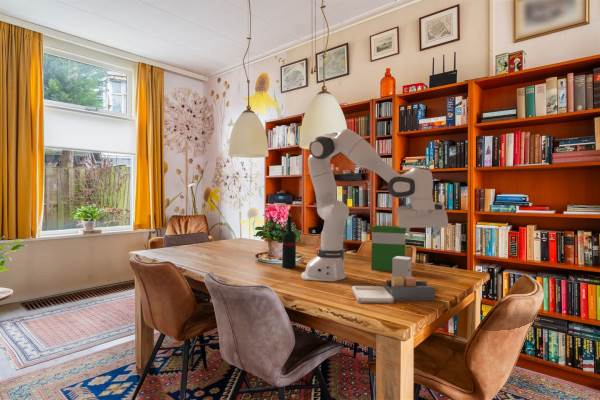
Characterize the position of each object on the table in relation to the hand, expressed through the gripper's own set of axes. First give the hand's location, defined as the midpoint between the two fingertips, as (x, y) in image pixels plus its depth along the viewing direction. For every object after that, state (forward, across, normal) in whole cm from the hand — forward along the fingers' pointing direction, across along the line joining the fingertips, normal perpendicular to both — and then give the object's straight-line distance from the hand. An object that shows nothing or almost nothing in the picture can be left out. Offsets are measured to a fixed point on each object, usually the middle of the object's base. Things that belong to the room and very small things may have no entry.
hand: (422, 238), depth 143 cm
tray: (+23, -22, -7) cm, 33 cm away
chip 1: (+20, -11, -6) cm, 23 cm away
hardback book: (+24, -10, +43) cm, 50 cm away
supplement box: (+24, -7, +14) cm, 29 cm away
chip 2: (+20, -6, -5) cm, 21 cm away
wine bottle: (+23, -65, +40) cm, 80 cm away
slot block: (+24, -6, -5) cm, 25 cm away
